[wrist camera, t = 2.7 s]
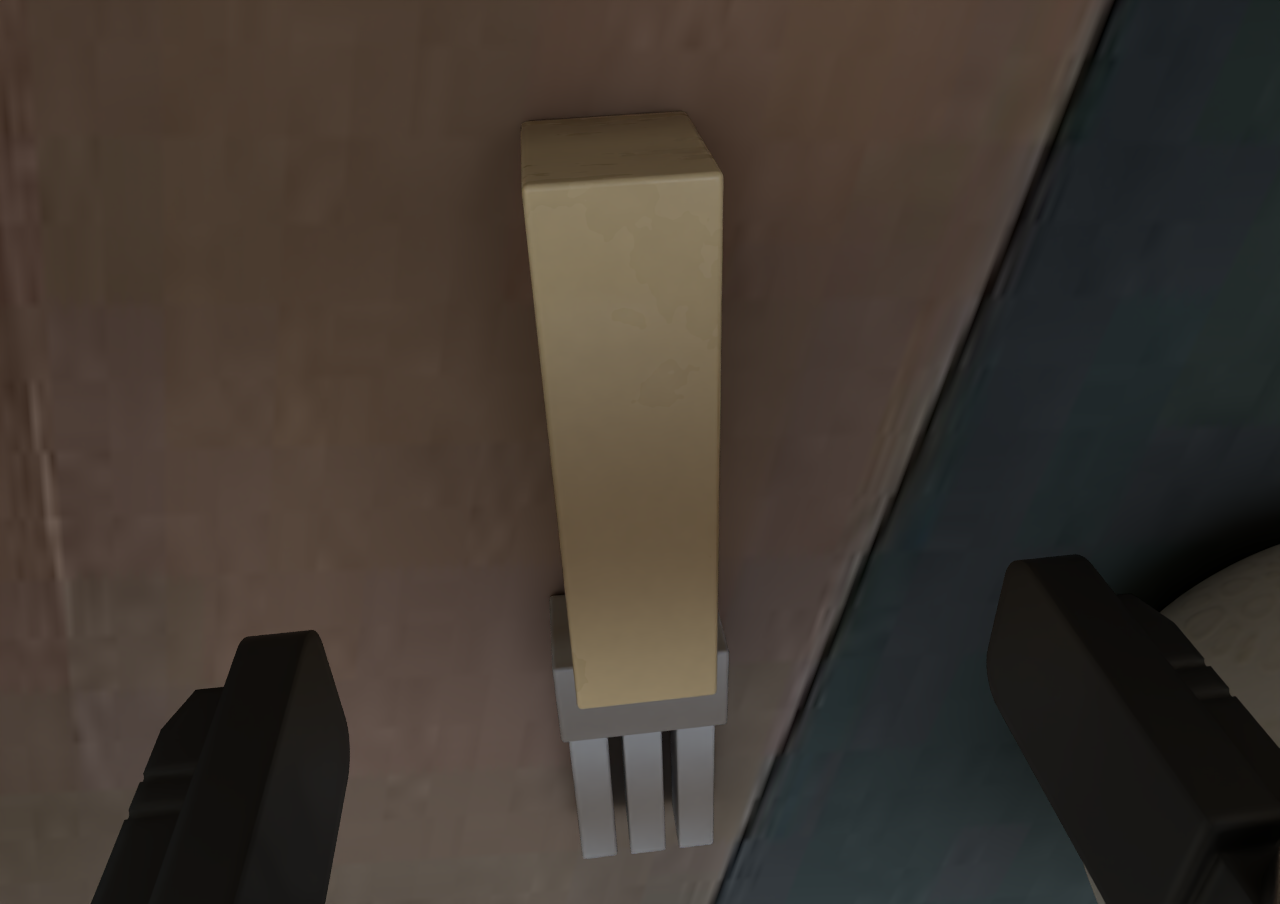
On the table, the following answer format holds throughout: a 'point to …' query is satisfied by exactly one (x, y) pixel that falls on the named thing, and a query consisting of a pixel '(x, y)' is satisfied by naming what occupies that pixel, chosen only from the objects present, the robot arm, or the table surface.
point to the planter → (1237, 635)
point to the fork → (632, 457)
